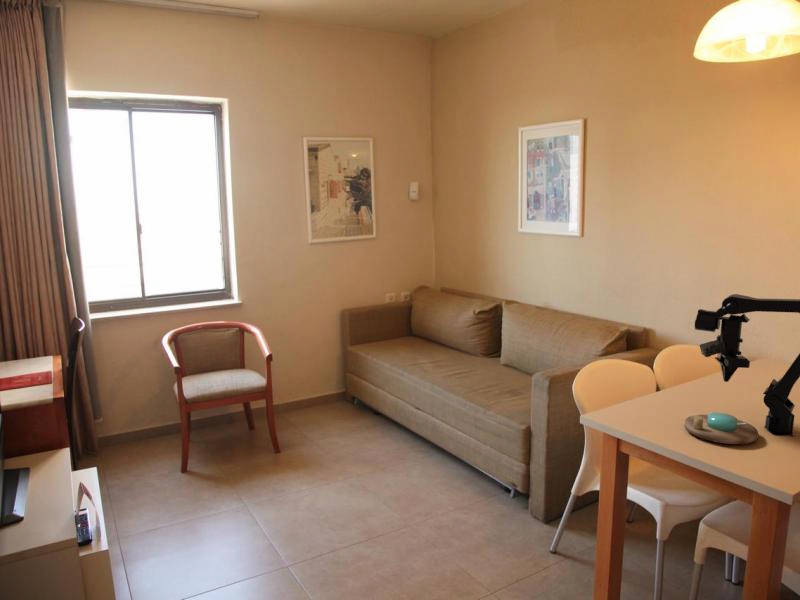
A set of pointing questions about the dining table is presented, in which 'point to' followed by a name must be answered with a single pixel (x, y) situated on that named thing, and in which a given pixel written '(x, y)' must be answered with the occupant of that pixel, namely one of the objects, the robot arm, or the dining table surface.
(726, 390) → the dining table surface
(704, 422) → the disc
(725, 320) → the robot arm
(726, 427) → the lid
